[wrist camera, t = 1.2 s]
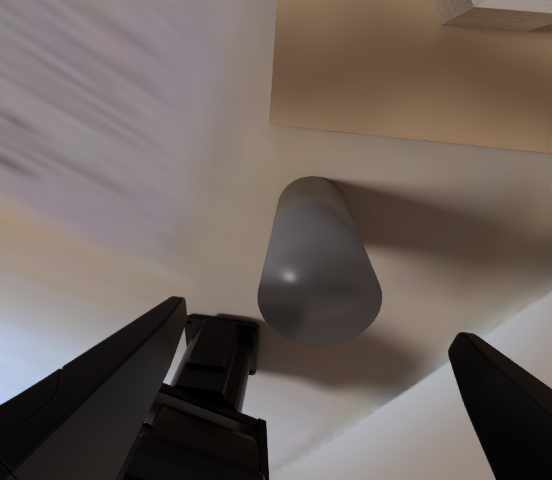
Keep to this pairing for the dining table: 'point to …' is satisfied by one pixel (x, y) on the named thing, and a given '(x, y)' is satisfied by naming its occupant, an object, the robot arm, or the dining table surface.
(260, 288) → the grey rounded plug
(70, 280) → the dining table surface
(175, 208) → the dining table surface
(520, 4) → the aluminium collar
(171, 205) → the dining table surface
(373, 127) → the tan square board
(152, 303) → the dining table surface
